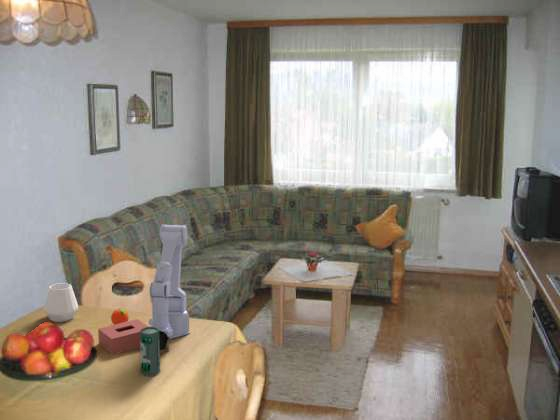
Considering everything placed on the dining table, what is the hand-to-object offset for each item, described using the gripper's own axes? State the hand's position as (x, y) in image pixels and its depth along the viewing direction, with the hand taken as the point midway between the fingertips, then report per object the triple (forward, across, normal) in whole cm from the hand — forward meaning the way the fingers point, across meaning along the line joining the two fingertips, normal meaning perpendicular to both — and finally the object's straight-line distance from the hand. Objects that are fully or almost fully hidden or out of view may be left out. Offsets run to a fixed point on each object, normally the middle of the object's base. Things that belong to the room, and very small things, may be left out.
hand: (161, 348), depth 208 cm
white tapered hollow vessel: (+2, -55, -17) cm, 58 cm away
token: (+2, 0, 0) cm, 2 cm away
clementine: (+2, -32, -1) cm, 32 cm away
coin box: (+2, -15, -7) cm, 17 cm away
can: (+2, +11, -10) cm, 15 cm away
